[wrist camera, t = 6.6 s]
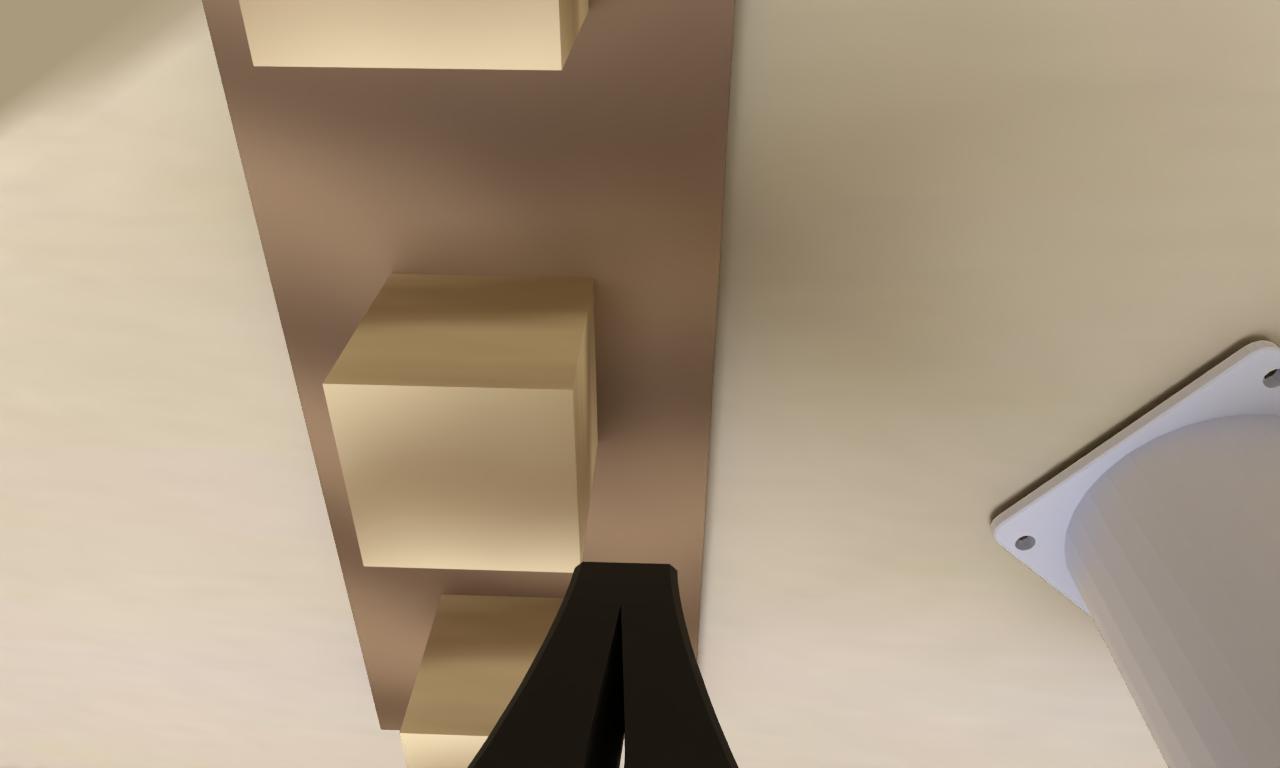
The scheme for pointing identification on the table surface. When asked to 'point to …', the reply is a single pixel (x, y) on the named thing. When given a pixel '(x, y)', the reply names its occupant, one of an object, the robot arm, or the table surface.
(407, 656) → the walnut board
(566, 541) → the plain block
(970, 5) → the table surface
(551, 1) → the block one
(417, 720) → the block seven
